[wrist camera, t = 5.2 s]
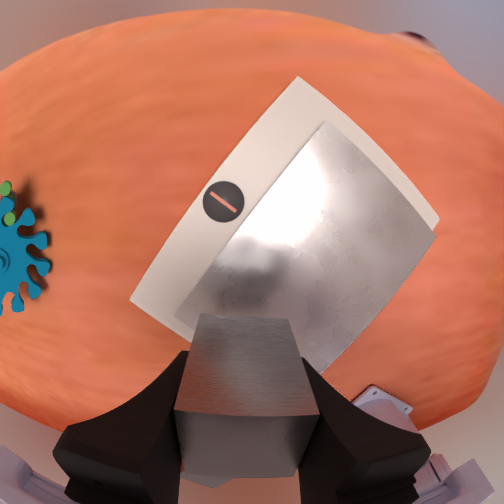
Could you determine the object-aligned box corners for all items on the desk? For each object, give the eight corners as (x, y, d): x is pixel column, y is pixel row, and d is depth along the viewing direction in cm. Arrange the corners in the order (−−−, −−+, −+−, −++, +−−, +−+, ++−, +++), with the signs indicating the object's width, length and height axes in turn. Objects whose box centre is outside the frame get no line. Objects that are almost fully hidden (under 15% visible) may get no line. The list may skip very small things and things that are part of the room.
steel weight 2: (276, 382, 13) (293, 476, 7) (200, 378, 13) (185, 473, 7) (287, 318, 12) (319, 414, 6) (200, 313, 12) (173, 409, 6)
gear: (44, 325, 17) (-50, 311, 10) (38, 294, 21) (-40, 281, 13) (66, 199, 17) (-40, 170, 9) (59, 189, 20) (-25, 166, 12)
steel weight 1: (237, 429, 23) (238, 476, 17) (216, 444, 23) (213, 488, 18) (203, 413, 22) (197, 462, 16) (183, 430, 23) (175, 475, 17)
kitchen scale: (424, 215, 18) (446, 220, 15) (283, 380, 21) (288, 402, 18) (292, 86, 16) (300, 71, 13) (138, 289, 19) (124, 304, 16)
